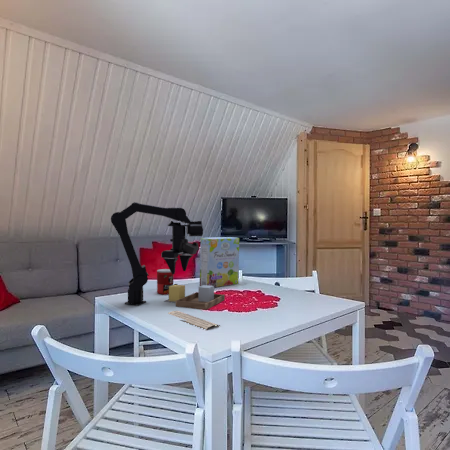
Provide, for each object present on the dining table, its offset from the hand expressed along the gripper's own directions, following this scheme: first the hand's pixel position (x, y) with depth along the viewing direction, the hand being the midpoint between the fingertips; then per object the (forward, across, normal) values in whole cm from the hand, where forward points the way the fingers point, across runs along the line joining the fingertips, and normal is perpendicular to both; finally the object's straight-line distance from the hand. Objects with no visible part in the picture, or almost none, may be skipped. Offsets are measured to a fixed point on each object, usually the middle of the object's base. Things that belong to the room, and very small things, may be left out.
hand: (179, 272), depth 153 cm
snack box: (+13, +40, -1) cm, 42 cm away
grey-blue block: (+12, +3, -12) cm, 17 cm away
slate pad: (+12, -2, 0) cm, 12 cm away
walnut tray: (+12, -2, -12) cm, 17 cm away
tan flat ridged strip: (+13, -23, -20) cm, 33 cm away
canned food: (+12, +11, +14) cm, 22 cm away
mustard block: (+11, -2, 0) cm, 12 cm away
